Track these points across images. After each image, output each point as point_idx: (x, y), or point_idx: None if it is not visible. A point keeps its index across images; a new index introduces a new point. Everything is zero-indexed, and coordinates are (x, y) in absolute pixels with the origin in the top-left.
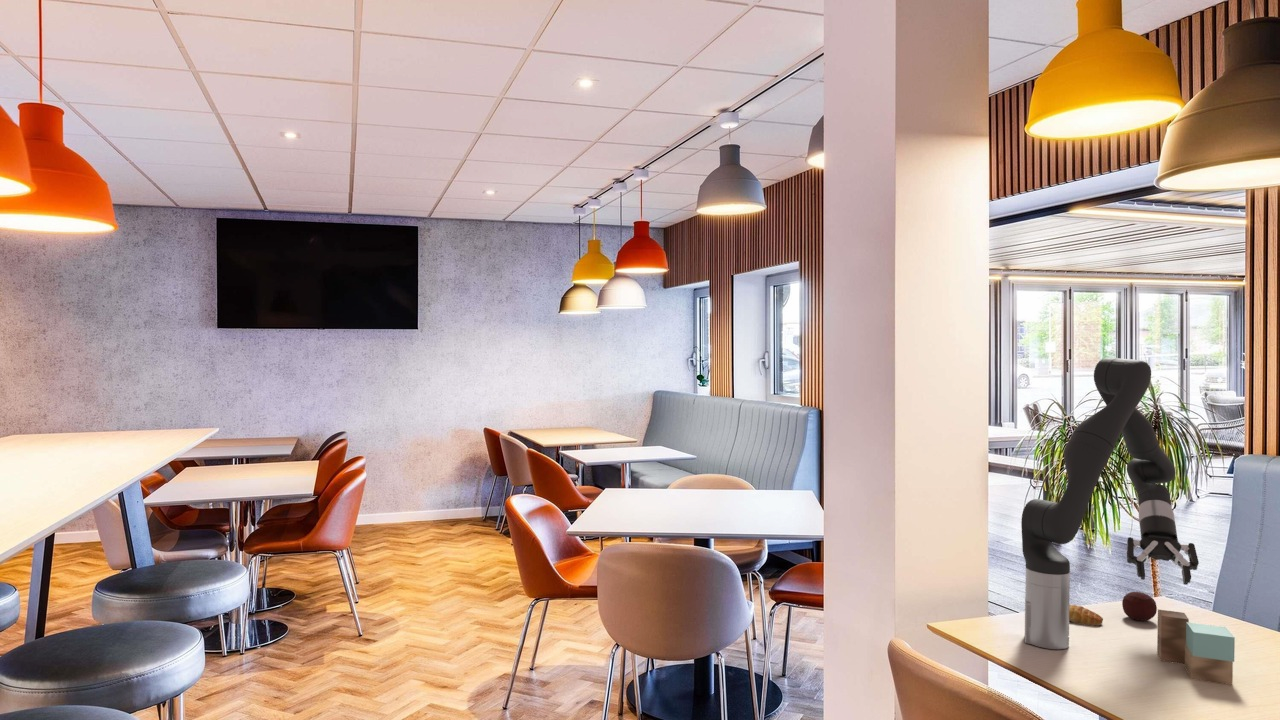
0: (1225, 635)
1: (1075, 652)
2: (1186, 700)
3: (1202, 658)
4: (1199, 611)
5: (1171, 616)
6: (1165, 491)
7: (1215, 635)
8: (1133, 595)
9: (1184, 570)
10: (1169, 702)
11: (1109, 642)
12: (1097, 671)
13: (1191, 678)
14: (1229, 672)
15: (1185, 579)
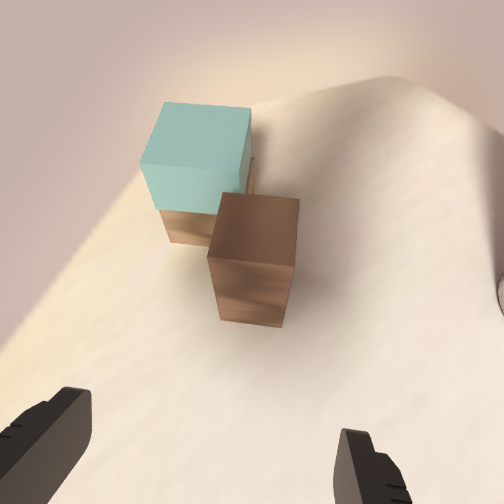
0: (179, 108)
1: (474, 265)
2: (291, 116)
3: None
4: None
5: (268, 202)
6: None
7: (204, 106)
8: None
9: (25, 444)
10: (317, 105)
11: (399, 380)
12: (420, 178)
13: (253, 193)
14: None
15: (82, 390)
